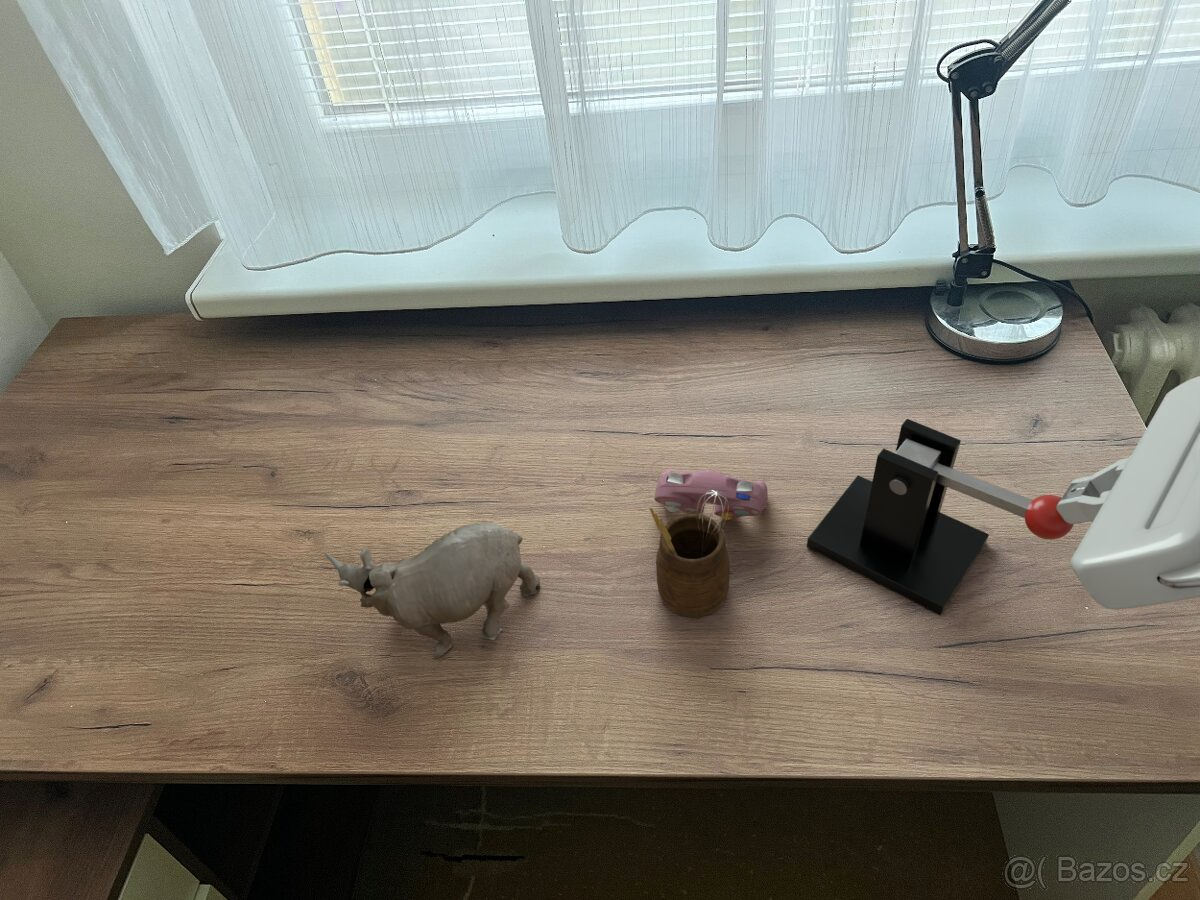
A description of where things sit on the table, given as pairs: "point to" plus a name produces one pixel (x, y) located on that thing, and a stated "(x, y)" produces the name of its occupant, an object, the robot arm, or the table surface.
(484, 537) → the rhinoceros figurine
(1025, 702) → the table surface
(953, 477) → the lever
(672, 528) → the utensil holder
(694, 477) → the pink toy car
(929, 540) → the bracket
